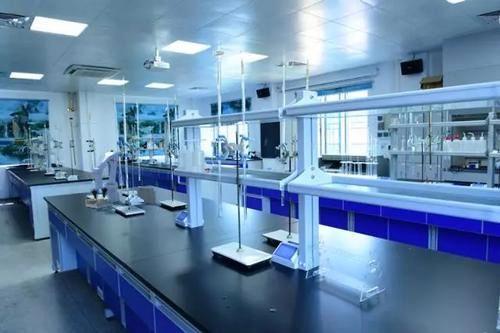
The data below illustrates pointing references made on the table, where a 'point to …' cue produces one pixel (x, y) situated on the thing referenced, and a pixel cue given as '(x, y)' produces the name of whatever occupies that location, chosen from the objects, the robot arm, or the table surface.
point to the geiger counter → (146, 194)
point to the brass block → (99, 199)
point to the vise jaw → (90, 201)
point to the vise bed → (100, 204)
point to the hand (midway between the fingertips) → (99, 198)
